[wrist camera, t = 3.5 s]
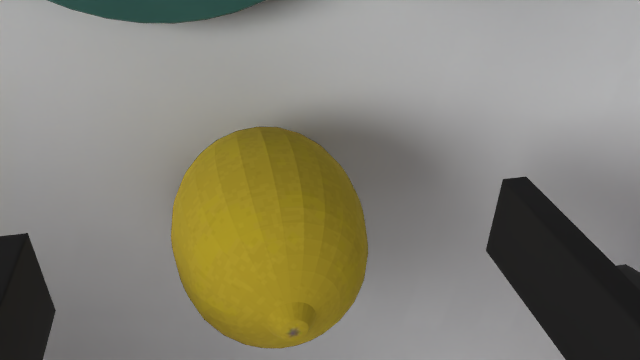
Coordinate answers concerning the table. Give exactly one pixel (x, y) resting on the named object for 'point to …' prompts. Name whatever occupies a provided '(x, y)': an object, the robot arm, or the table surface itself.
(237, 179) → the lemon
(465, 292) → the table surface
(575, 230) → the robot arm
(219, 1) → the lid
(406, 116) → the table surface
